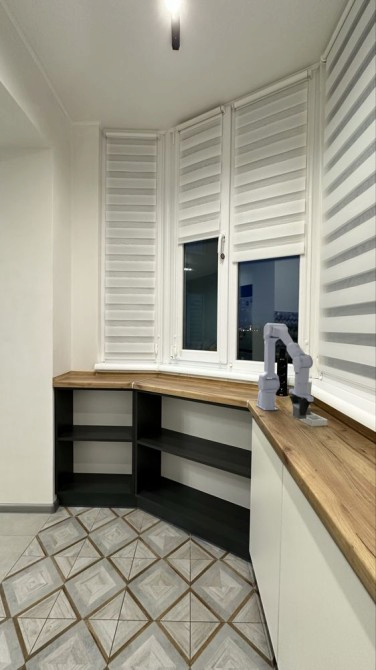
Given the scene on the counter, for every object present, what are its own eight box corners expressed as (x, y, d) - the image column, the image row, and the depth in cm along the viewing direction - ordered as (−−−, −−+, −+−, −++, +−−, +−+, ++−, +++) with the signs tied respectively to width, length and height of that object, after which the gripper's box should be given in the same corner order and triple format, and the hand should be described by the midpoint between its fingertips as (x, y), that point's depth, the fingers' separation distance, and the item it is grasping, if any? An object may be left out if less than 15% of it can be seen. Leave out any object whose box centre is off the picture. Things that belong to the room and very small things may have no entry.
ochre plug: (297, 415, 141) (298, 403, 141) (304, 414, 142) (305, 403, 142) (302, 417, 137) (303, 406, 137) (310, 417, 138) (311, 405, 138)
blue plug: (292, 416, 132) (293, 403, 132) (300, 415, 133) (301, 403, 133) (298, 419, 128) (298, 406, 128) (306, 418, 129) (306, 406, 129)
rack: (292, 416, 142) (292, 411, 142) (306, 415, 144) (306, 410, 144) (311, 426, 129) (311, 420, 129) (327, 425, 131) (327, 419, 131)
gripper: (320, 386, 124) (318, 418, 125) (299, 379, 138) (297, 408, 139) (306, 386, 122) (304, 419, 123) (285, 379, 136) (283, 408, 137)
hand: (299, 413), depth 131 cm, fingers closed on blue plug, 4 cm apart
